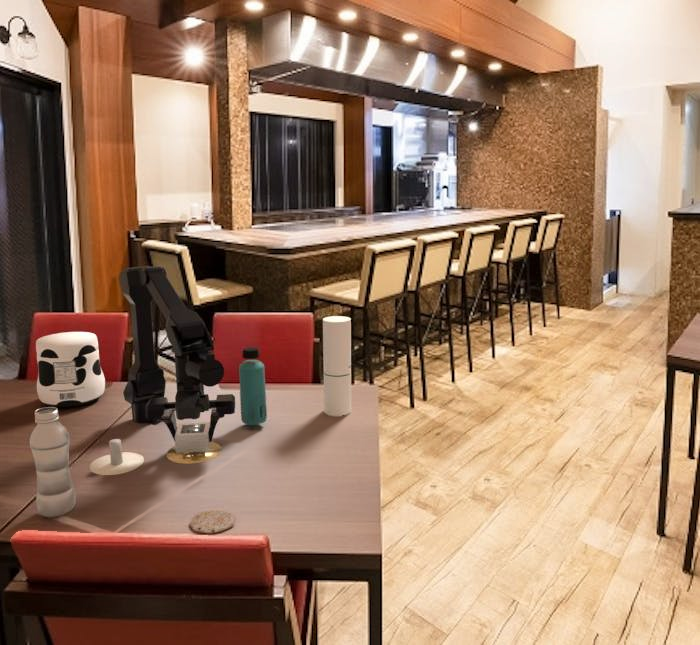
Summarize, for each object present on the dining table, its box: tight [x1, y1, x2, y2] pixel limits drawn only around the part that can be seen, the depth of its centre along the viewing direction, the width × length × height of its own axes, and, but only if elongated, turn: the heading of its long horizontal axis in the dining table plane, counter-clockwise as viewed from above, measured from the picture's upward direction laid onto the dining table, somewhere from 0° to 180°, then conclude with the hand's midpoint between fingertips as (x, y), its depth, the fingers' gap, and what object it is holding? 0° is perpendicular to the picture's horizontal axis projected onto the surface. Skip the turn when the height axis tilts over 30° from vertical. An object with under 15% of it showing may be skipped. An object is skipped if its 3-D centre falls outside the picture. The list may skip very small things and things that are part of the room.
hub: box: [166, 427, 223, 465], centre depth 141 cm, size 12×12×6 cm
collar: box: [174, 421, 210, 453], centre depth 141 cm, size 7×7×4 cm
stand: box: [88, 438, 145, 476], centre depth 135 cm, size 11×11×6 cm
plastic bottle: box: [29, 406, 77, 518], centre depth 115 cm, size 6×7×20 cm
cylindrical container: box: [322, 315, 352, 417], centre depth 165 cm, size 7×7×25 cm
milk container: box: [35, 331, 106, 408], centre depth 175 cm, size 17×17×18 cm
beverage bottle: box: [238, 346, 268, 426], centre depth 156 cm, size 6×7×20 cm
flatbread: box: [189, 509, 236, 534], centre depth 114 cm, size 8×8×1 cm
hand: (193, 442), depth 141 cm, fingers closed on collar, 7 cm apart
